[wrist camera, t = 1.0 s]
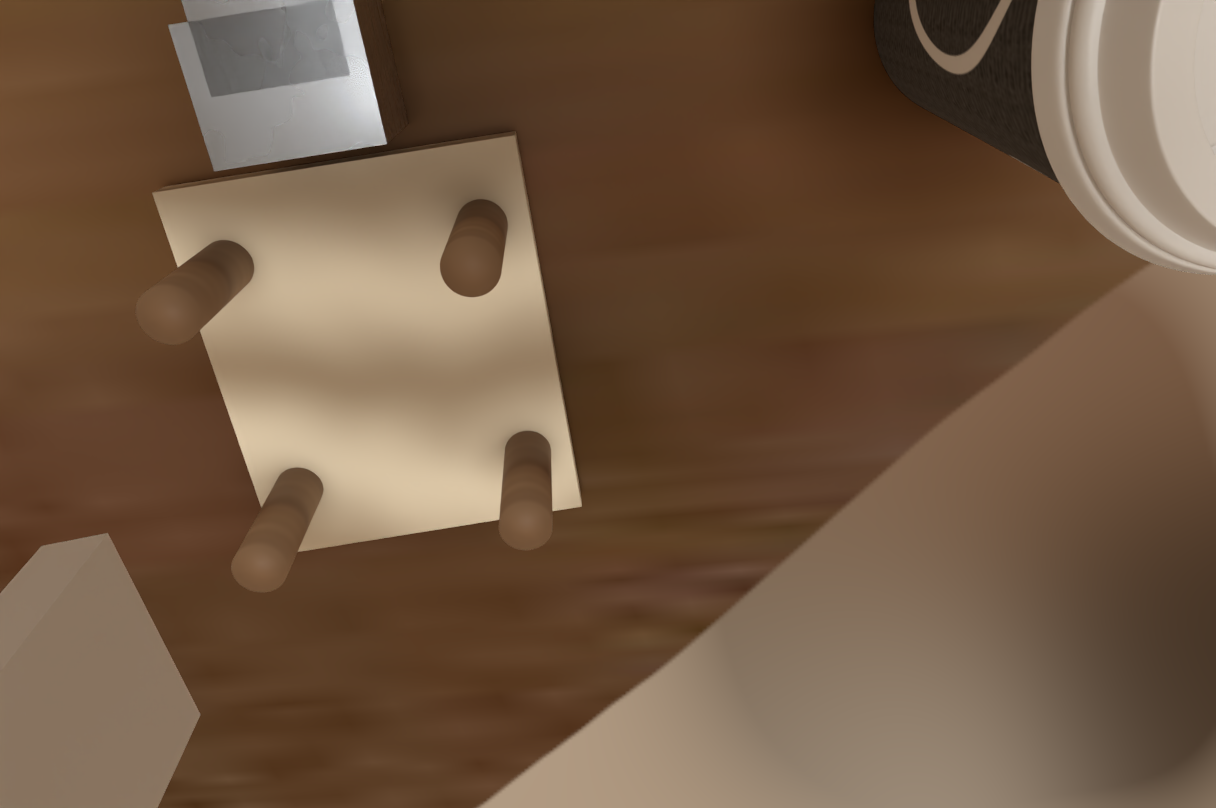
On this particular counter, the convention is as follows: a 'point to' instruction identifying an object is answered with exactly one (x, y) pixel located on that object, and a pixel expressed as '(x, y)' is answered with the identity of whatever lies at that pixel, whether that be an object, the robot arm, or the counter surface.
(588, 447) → the counter surface
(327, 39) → the grey metal bar
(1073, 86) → the coffee cup
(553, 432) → the rack
